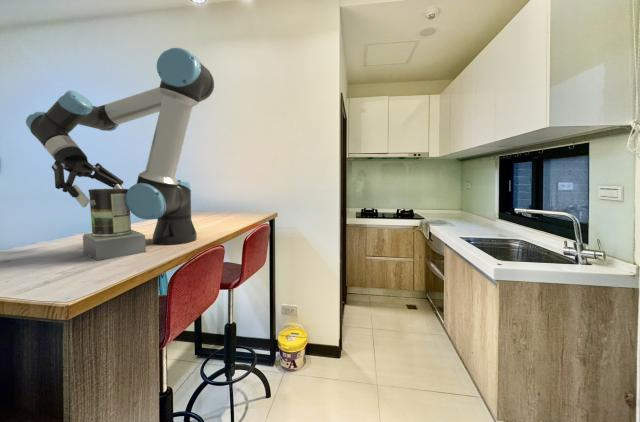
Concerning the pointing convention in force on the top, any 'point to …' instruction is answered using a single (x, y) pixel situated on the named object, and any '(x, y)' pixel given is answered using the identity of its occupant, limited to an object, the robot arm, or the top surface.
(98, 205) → the coffee can
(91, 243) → the base block
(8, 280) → the top surface
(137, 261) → the top surface
